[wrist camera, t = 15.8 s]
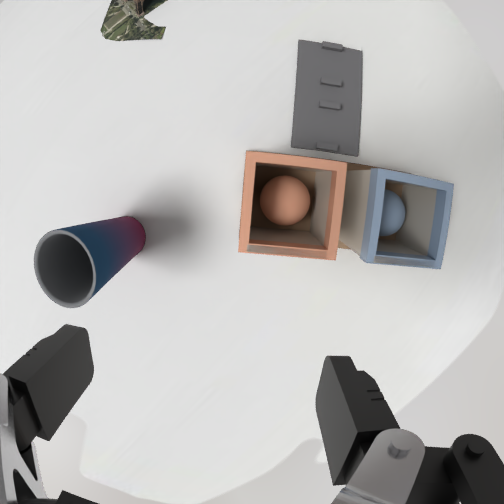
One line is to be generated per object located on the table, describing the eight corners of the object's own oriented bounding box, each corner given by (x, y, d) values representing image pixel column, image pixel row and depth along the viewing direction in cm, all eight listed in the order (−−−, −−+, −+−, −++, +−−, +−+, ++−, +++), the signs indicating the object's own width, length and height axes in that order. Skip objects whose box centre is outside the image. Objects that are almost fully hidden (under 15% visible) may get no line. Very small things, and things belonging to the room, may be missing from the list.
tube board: (246, 151, 35) (246, 150, 34) (407, 173, 35) (411, 173, 34) (239, 237, 37) (238, 239, 36) (397, 251, 37) (400, 254, 36)
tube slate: (345, 169, 34) (378, 168, 24) (408, 180, 34) (453, 183, 24) (337, 240, 36) (365, 263, 26) (399, 246, 36) (440, 269, 26)
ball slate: (357, 184, 34) (372, 187, 29) (396, 190, 34) (416, 194, 29) (351, 228, 36) (365, 238, 31) (390, 233, 36) (409, 243, 31)
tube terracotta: (249, 158, 34) (246, 151, 24) (322, 166, 34) (347, 162, 24) (242, 231, 36) (238, 252, 26) (314, 238, 36) (335, 260, 26)
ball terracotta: (261, 173, 34) (262, 172, 29) (308, 178, 34) (316, 178, 29) (257, 219, 35) (257, 226, 30) (303, 223, 35) (311, 231, 30)
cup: (114, 200, 36) (43, 216, 22) (160, 223, 37) (106, 253, 22) (97, 247, 38) (28, 284, 23) (140, 271, 38) (85, 322, 24)
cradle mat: (298, 40, 31) (299, 36, 30) (361, 51, 31) (364, 48, 30) (290, 147, 35) (292, 146, 33) (357, 156, 35) (360, 155, 34)
